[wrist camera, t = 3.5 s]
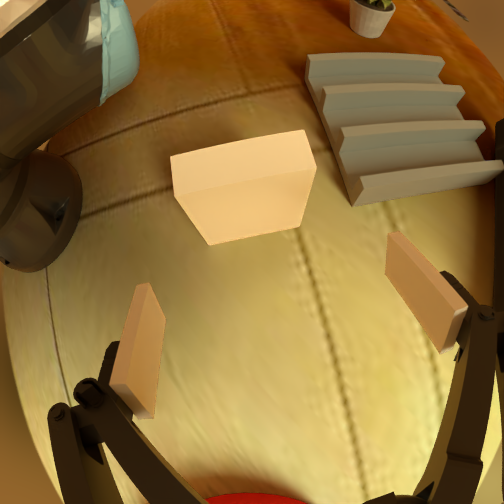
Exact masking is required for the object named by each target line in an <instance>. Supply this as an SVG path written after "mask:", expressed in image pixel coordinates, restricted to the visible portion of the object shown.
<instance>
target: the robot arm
mask: <svg viewBox="0 0 504 504" xmlns="http://www.w3.org/2000/svg"><path fill="white" fill-rule="evenodd" d="M139 64H140V59H139V50H138V45H137V40H136V35H135V31H134V27H133V24H132V20H131V16H130V13H129V10H128V7H127V5H126V4H125V3H124V0H0V261H1V262H2V263H3V264H4V265H6V266H8V267H10V268H12V269H15V270H18V271H22V272H36V271H39V270H41V269H43V268H45V267H47V266H48V265H49V264H51V263H52V262H53V261H54V260H55V259H56V258H57V257H58V256H59V255H60V254H61V253H62V252H63V250H64V249H65V247H66V246H67V244H68V243H69V241H70V239H71V237H72V235H73V233H74V231H75V229H76V226H77V223H78V220H79V217H80V213H81V207H82V185H81V181H80V178H79V176H78V174H77V172H76V170H75V169H74V168H73V167H72V166H71V165H70V164H69V163H68V162H67V161H65V160H64V159H63V158H62V157H60V156H58V155H56V154H53V153H48V152H45V151H42V150H39V149H37V148H38V147H39V146H41V145H42V144H43V143H44V142H46V141H47V140H48V139H50V138H51V137H52V136H54V135H55V134H57V133H58V132H59V131H61V130H62V129H64V128H65V127H66V126H68V125H69V124H71V123H72V122H74V121H75V120H76V119H78V118H79V117H81V116H82V115H84V114H86V113H87V112H89V111H90V110H92V109H93V108H95V107H96V106H101V105H102V104H103V103H104V102H105V101H106V99H107V98H109V97H111V96H112V95H114V94H115V93H117V92H118V91H120V90H121V89H123V88H125V87H126V86H128V85H129V84H130V83H131V82H132V81H133V80H134V78H135V76H136V75H137V73H138V70H139ZM385 275H386V276H387V277H388V279H389V280H390V282H391V283H392V284H393V286H394V287H395V288H396V290H397V291H398V293H399V294H400V295H401V297H402V298H403V300H404V301H405V303H406V304H407V305H408V307H409V308H410V310H411V311H412V313H413V314H414V316H415V317H416V318H417V320H418V321H419V323H420V324H421V326H422V327H423V329H424V330H425V332H426V333H427V335H428V336H429V338H430V340H431V341H432V343H433V344H434V346H435V347H436V349H437V350H438V352H439V354H442V353H445V352H447V351H450V350H452V349H453V347H454V344H455V342H456V341H457V342H458V344H459V345H460V347H459V349H458V352H457V354H456V356H455V359H454V361H456V364H455V369H454V374H453V379H452V383H451V388H450V392H449V396H448V400H447V404H446V408H445V412H444V415H443V419H442V422H441V426H440V429H439V432H438V435H437V439H436V442H435V445H434V448H433V451H432V453H431V456H430V459H429V462H428V464H427V467H426V470H425V472H424V475H423V477H422V478H421V480H420V482H419V483H418V485H417V487H416V489H415V491H414V493H413V495H412V496H411V495H395V494H394V492H391V493H389V494H386V495H383V496H380V497H377V498H375V499H372V500H369V501H366V502H365V503H363V504H472V502H473V499H474V496H475V493H476V490H477V487H478V483H479V480H480V477H481V473H482V469H483V462H482V461H481V459H480V457H481V452H482V448H483V444H484V439H485V434H486V430H487V424H488V419H489V413H490V407H491V401H492V393H493V385H494V376H495V370H496V377H497V384H498V392H499V401H500V412H501V426H502V452H503V453H502V494H503V502H502V504H504V311H502V312H495V311H494V310H493V309H492V308H491V307H489V306H486V305H479V304H478V303H477V302H476V300H475V299H474V298H473V297H472V296H471V295H470V294H469V292H468V291H467V290H466V289H465V288H463V286H462V285H461V284H460V283H459V281H458V280H457V279H456V278H455V277H454V276H453V275H451V274H450V273H448V272H446V271H442V272H438V271H437V270H436V268H435V267H434V266H433V265H432V264H431V263H430V262H429V261H428V260H427V259H426V258H425V257H424V256H423V255H422V254H421V253H420V252H419V250H418V249H417V248H416V247H415V246H414V245H413V244H412V243H411V242H410V241H409V240H408V239H407V238H406V237H405V236H404V235H403V234H402V233H401V232H400V231H397V232H392V233H388V236H387V253H386V267H385ZM165 325H166V318H165V316H164V314H163V312H162V310H161V307H160V305H159V303H158V301H157V298H156V296H155V294H154V292H153V289H152V287H151V285H150V282H149V283H144V284H139V285H137V286H136V289H135V292H134V295H133V299H132V302H131V305H130V308H129V312H128V315H127V319H126V322H125V325H124V329H123V333H122V336H121V340H120V341H114V342H111V344H110V345H109V347H108V348H107V349H106V352H105V356H104V360H103V363H102V367H101V370H100V373H99V377H98V381H97V380H96V379H94V378H85V379H83V380H81V381H80V382H79V383H78V384H77V385H76V387H75V389H74V392H73V395H74V399H75V400H76V401H77V402H78V403H79V404H80V405H77V406H74V407H71V408H70V407H69V406H68V405H67V404H65V403H62V402H60V403H57V404H55V405H53V406H52V407H51V409H50V410H49V412H48V417H47V419H48V427H49V434H50V440H51V446H52V451H53V457H54V462H55V466H56V471H57V475H58V480H59V484H60V488H61V492H62V496H63V499H64V503H65V504H124V503H123V501H122V498H121V496H120V493H119V491H118V488H117V486H116V483H115V481H114V478H113V475H112V472H111V470H110V467H109V464H108V461H107V458H106V455H105V452H104V449H103V446H102V443H103V442H105V444H106V445H107V447H108V448H109V450H110V451H111V453H112V454H113V456H114V457H115V458H116V460H117V461H118V463H119V464H120V466H121V467H122V468H123V470H124V471H125V472H126V474H127V475H128V477H129V478H130V479H131V481H132V482H133V483H134V484H135V486H136V487H137V488H138V490H139V491H140V492H141V493H142V495H143V496H144V497H145V498H146V499H147V501H148V502H149V503H150V504H209V503H208V502H207V501H206V500H205V499H203V498H202V497H201V496H200V495H199V494H198V493H197V492H196V491H195V490H194V489H193V488H192V487H191V486H190V485H189V484H188V483H187V482H186V481H185V480H184V479H183V478H182V477H181V476H180V475H179V474H178V473H177V472H176V471H175V470H174V468H173V467H172V466H171V465H170V464H169V463H168V462H167V461H166V460H165V459H164V458H163V456H162V455H161V454H160V453H159V452H158V451H157V450H156V448H155V447H154V446H153V445H152V444H151V443H150V441H149V440H148V439H147V438H146V437H145V435H144V434H143V433H142V432H141V431H140V429H139V428H138V427H137V426H136V424H135V423H134V422H133V421H132V417H133V414H134V415H135V416H136V417H137V418H138V419H154V412H155V402H156V393H157V384H158V376H159V368H160V360H161V352H162V345H163V338H164V331H165Z"/></svg>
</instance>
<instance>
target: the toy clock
mask: <svg viewBox="0 0 504 504" xmlns="http://www.w3.org/2000/svg"><path fill="white" fill-rule="evenodd" d="M205 500H206V501H207V502H208V503H209V504H307V503H304V502H302V501H299V500H296V499H293V498H288V497H284V496H280V495H272V494H264V493H236V494H225V495H221V496H215V497H210V498H208V499H205Z"/></svg>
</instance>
